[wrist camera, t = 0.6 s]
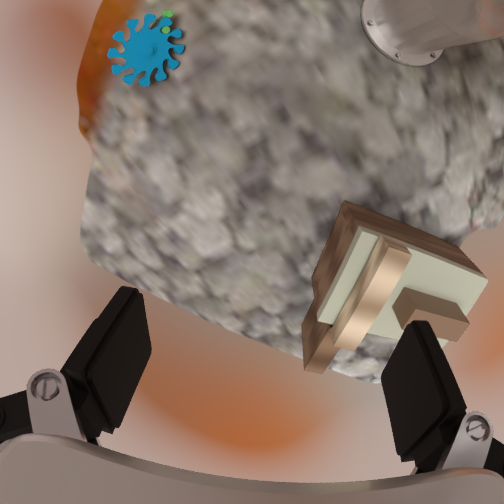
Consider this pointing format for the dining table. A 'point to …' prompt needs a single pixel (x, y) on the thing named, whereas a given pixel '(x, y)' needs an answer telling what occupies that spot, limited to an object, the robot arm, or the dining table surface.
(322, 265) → the brown wooden box
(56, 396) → the robot arm
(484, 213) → the dining table surface
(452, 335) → the lid
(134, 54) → the blue spiky virus toy
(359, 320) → the bar
